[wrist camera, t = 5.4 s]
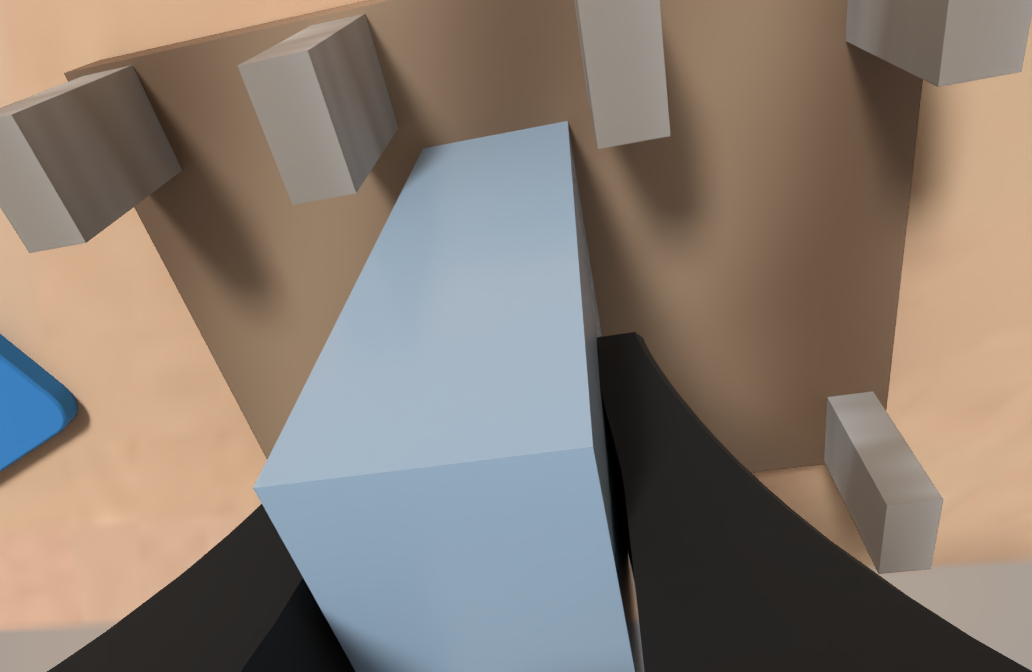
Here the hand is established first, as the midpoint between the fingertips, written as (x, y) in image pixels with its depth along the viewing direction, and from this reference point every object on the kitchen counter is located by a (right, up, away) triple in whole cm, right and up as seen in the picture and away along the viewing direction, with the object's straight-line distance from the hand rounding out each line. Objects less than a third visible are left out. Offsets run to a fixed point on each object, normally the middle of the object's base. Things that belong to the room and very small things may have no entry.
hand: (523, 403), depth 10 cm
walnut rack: (0, +2, +4) cm, 4 cm away
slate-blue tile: (0, +2, +3) cm, 3 cm away
